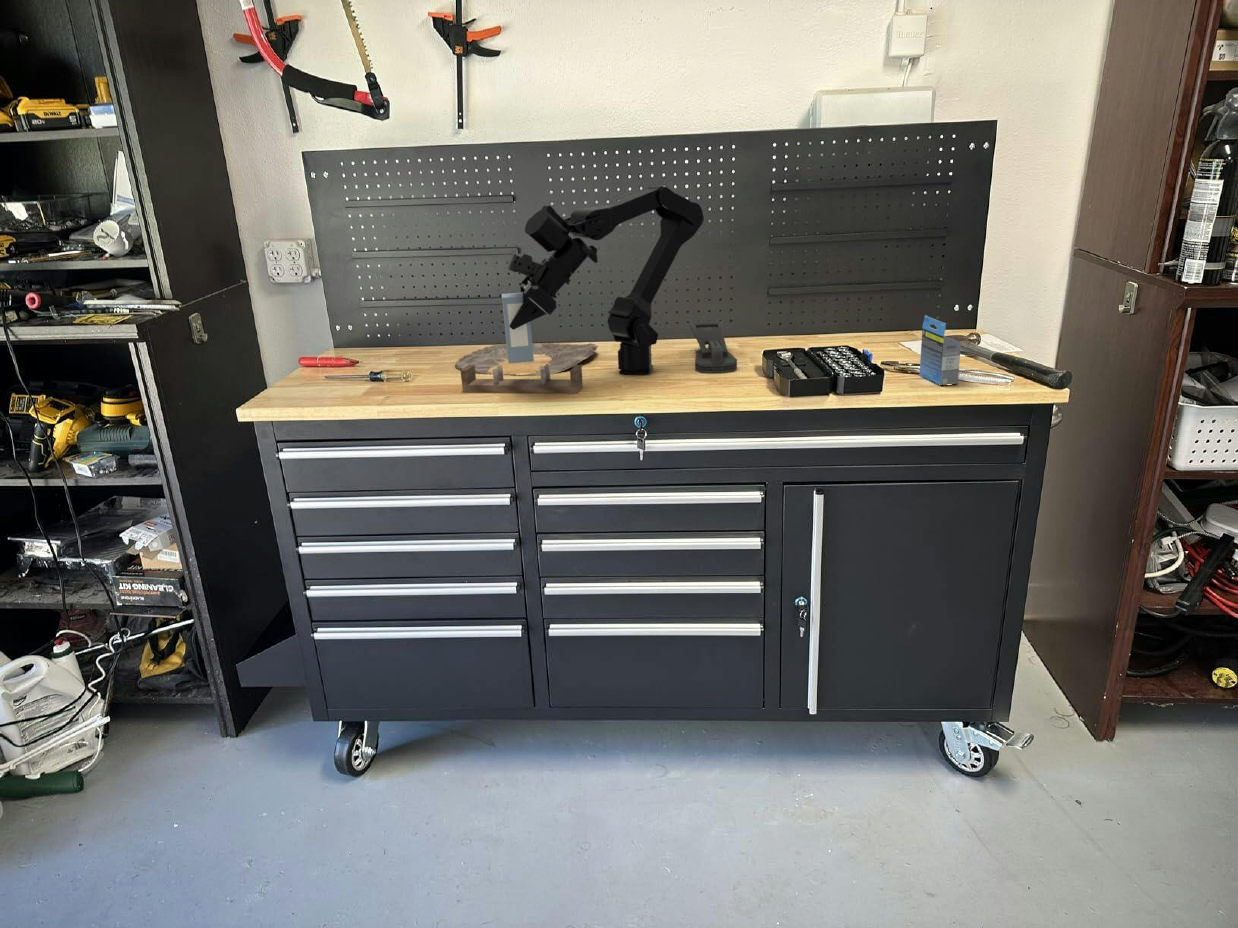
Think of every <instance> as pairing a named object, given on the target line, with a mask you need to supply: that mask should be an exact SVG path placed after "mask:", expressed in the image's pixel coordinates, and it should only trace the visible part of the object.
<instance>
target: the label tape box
mask: <svg viewBox="0 0 1238 928" xmlns="http://www.w3.org/2000/svg"><path fill="white" fill-rule="evenodd" d="M931 325H932V326H933V325H934V327H936V329H935V328H934V327H931ZM946 326H947V323H946V322H943V321H940V320H938V319H935V318H932V317H931V316H928V315H926V314H925V315H924V319H923V323H922V328H921V332H922V333H921V346H920V359H919V360H920V361H919V362H920V363H919V377H921V376H922V377H921V378H923V377H924V378H923V379H925V378H926V379H925V380H927V379H928V380H927V381H929V380H930V382H932V381H933V382H932V383H934V382H935V383H934V384H936V385H938V384H940V385H947V384H958V385H959V378H960V377H959V373H960V363H961V362H960V361H961V350H962V349H961V348H962V347H961V346H962V343H961V341H958V340H956V339H953V338H952V337H948V336H946V335H945V332H946Z"/></svg>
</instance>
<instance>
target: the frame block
mask: <svg viewBox="0 0 1238 928" xmlns="http://www.w3.org/2000/svg"><path fill="white" fill-rule="evenodd" d="M524 293H525V292H524ZM501 302H502V312H503V323H504V332H505V334H504V335H505V344H506V345H507V355H508V359H507V361H508V364H509V365H510V364H518V363H533V362H534V361H535V359H534V354H533V345H532V343H533V337H532V325H531V324H532V323H531V322H532V321H530V322H528V323H526V324H524V325H522V326H520V327H518V328H516V329H514V330H513V329H511V328H510V326H509V325H510V324H511V322H512V320H513V318H514V317H515V315H516V313H517V312H518V310H519V308H520V307H521V305H522V303H523V298H522V293H520V292H514V293H513V292H512V293H502V294H501Z"/></svg>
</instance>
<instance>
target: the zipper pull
mask: <svg viewBox="0 0 1238 928" xmlns="http://www.w3.org/2000/svg"><path fill="white" fill-rule="evenodd" d="M688 326H689V327H690V330H691V332H692V333H693V335H694V337H695V339H696V342H697V344H698V346H699V348H700V349H696V350H695V359H694V360H695V361H694V370H695V371H696V372H697V373H700V374H707V375H708V374H710V375H711V374H713V375H714V374H716V375H717V374H728V373H735V371H737V369H738V359H737V358H736V357H735V356H734V355H732V354H731V352H729V350H728V346H727V344H726V341H725V334H724V333H725V332H724V324H723V321H722V320H696V321H691V322H689V325H688ZM707 345H708V346H707ZM707 347H708V348H707Z"/></svg>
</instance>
